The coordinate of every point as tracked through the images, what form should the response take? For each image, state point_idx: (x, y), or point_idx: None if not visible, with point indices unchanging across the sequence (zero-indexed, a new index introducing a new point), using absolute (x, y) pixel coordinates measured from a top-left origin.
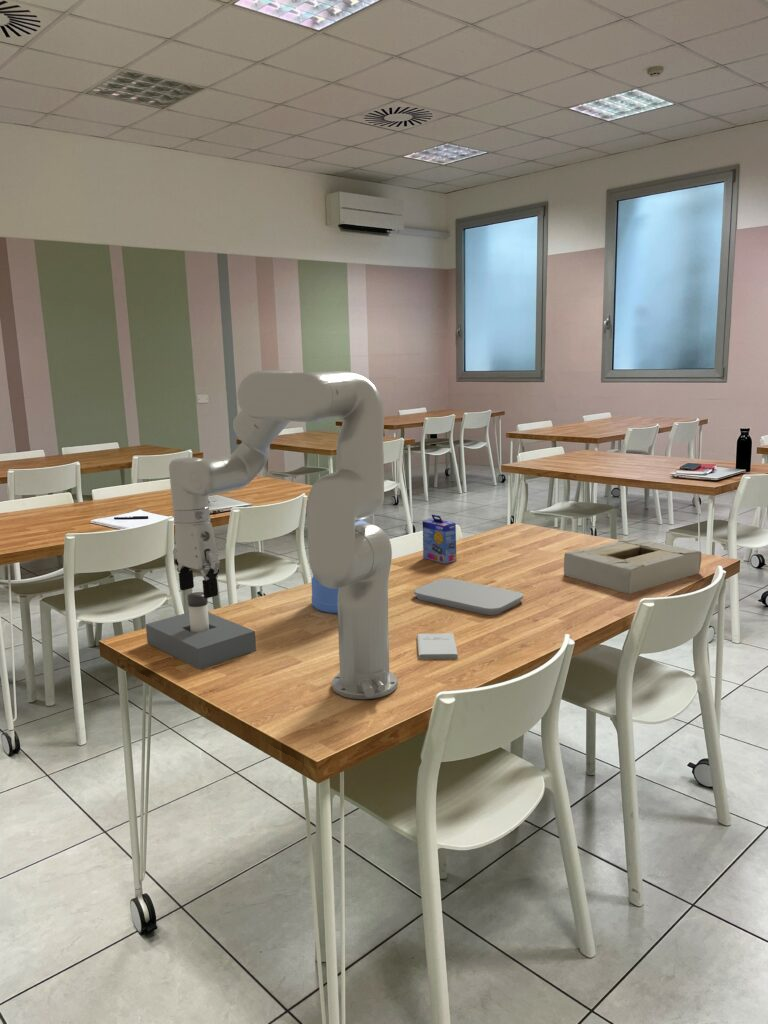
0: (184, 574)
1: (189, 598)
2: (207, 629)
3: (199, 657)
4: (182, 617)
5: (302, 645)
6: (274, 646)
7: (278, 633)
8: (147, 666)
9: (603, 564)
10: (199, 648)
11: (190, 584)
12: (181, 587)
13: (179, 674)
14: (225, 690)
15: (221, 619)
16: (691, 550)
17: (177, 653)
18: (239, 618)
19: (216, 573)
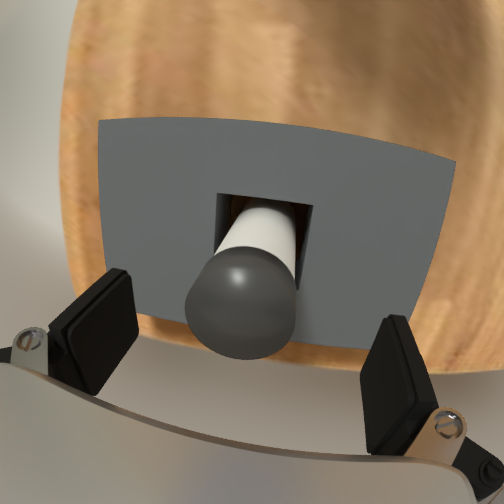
0: (91, 375)
1: (242, 356)
2: (294, 233)
3: None
4: (126, 211)
5: (488, 67)
6: (444, 102)
7: (375, 13)
8: (264, 358)
9: None
10: None
11: (122, 303)
12: (129, 343)
13: (359, 350)
14: (477, 339)
15: (255, 134)
16: None
17: None
18: (162, 4)
19: (479, 459)
